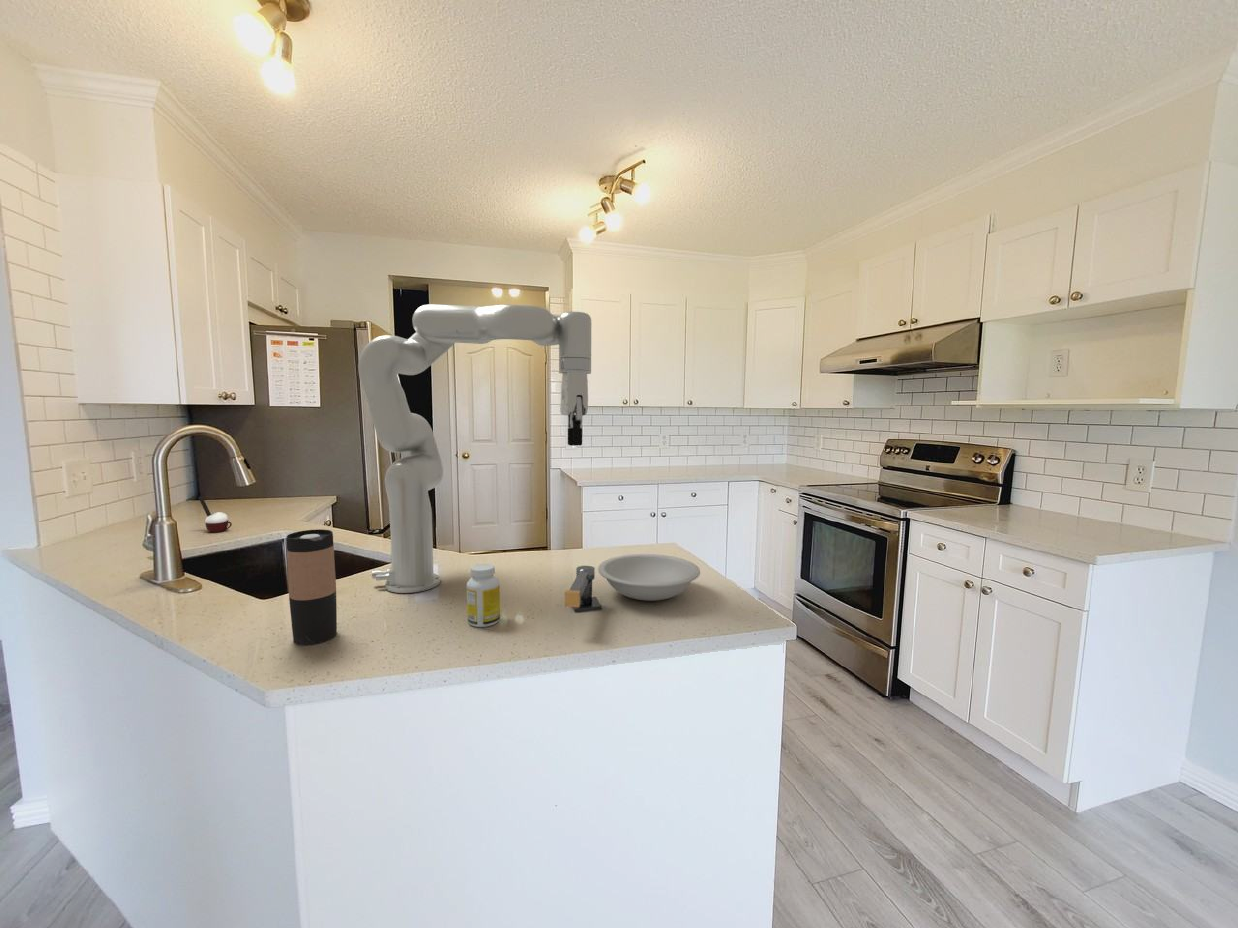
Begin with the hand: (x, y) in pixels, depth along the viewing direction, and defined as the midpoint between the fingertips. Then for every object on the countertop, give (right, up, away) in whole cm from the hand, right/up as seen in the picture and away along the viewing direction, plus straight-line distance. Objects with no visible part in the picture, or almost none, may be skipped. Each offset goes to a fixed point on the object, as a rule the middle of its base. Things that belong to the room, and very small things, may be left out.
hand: (574, 445), depth 122 cm
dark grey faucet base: (+3, -36, -8) cm, 37 cm away
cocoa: (-128, -28, +55) cm, 142 cm away
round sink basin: (+17, -36, 0) cm, 40 cm away
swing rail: (+2, -31, -15) cm, 34 cm away
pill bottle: (-17, -37, -17) cm, 44 cm away
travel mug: (-47, -38, -25) cm, 65 cm away
